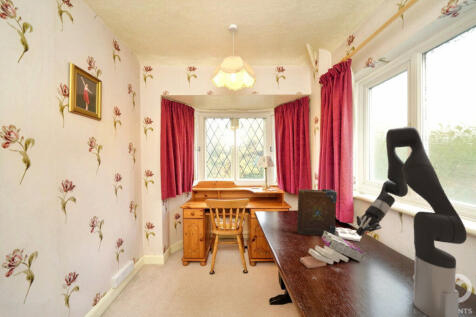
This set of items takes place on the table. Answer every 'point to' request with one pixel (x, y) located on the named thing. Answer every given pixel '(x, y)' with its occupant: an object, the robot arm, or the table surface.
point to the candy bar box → (342, 246)
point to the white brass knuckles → (347, 234)
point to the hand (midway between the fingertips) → (358, 234)
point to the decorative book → (316, 211)
